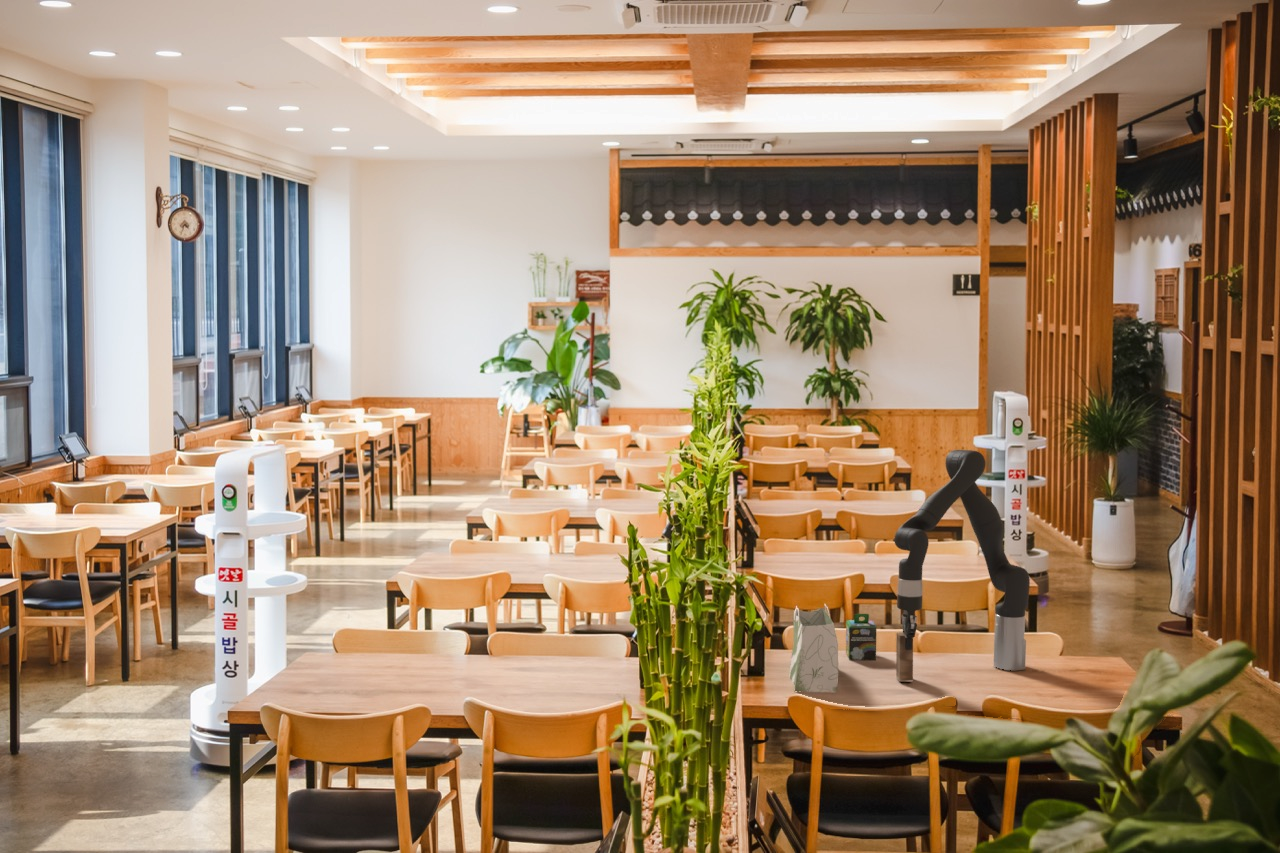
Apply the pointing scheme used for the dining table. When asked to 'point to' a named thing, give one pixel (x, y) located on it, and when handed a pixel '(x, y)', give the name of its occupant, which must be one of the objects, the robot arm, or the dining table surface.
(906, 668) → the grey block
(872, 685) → the dining table surface
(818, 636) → the grocery bag
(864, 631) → the chalk box
